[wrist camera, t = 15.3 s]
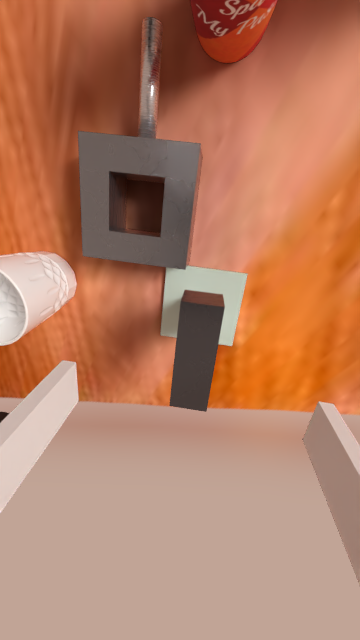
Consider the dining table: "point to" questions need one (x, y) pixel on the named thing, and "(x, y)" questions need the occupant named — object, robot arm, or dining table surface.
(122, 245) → the block
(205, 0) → the coffee cup
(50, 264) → the white cup
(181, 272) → the mat
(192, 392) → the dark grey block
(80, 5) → the dining table surface
